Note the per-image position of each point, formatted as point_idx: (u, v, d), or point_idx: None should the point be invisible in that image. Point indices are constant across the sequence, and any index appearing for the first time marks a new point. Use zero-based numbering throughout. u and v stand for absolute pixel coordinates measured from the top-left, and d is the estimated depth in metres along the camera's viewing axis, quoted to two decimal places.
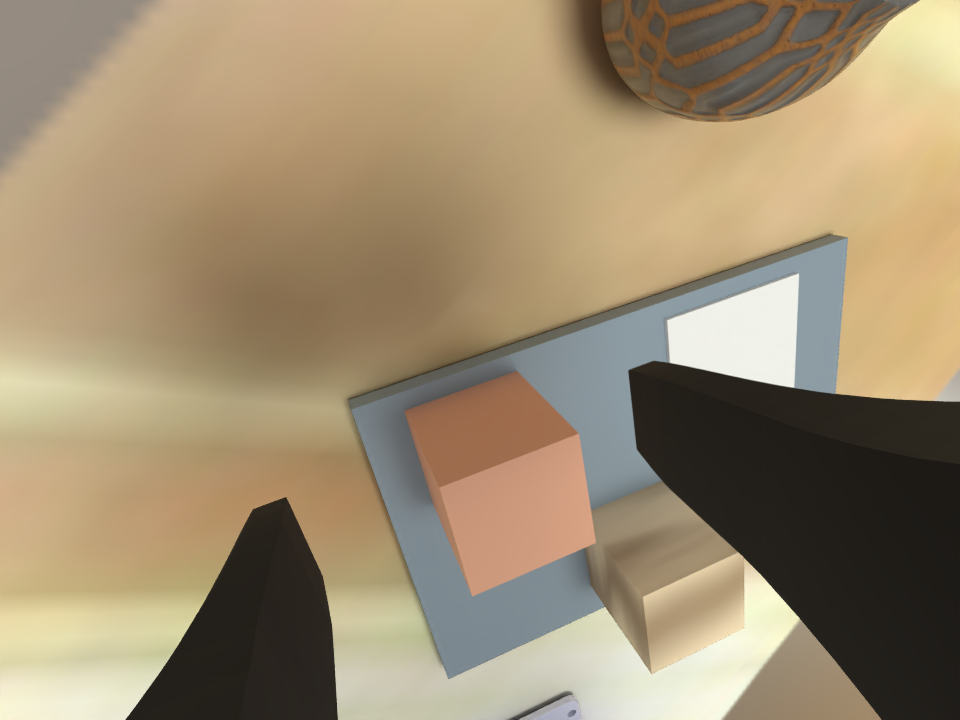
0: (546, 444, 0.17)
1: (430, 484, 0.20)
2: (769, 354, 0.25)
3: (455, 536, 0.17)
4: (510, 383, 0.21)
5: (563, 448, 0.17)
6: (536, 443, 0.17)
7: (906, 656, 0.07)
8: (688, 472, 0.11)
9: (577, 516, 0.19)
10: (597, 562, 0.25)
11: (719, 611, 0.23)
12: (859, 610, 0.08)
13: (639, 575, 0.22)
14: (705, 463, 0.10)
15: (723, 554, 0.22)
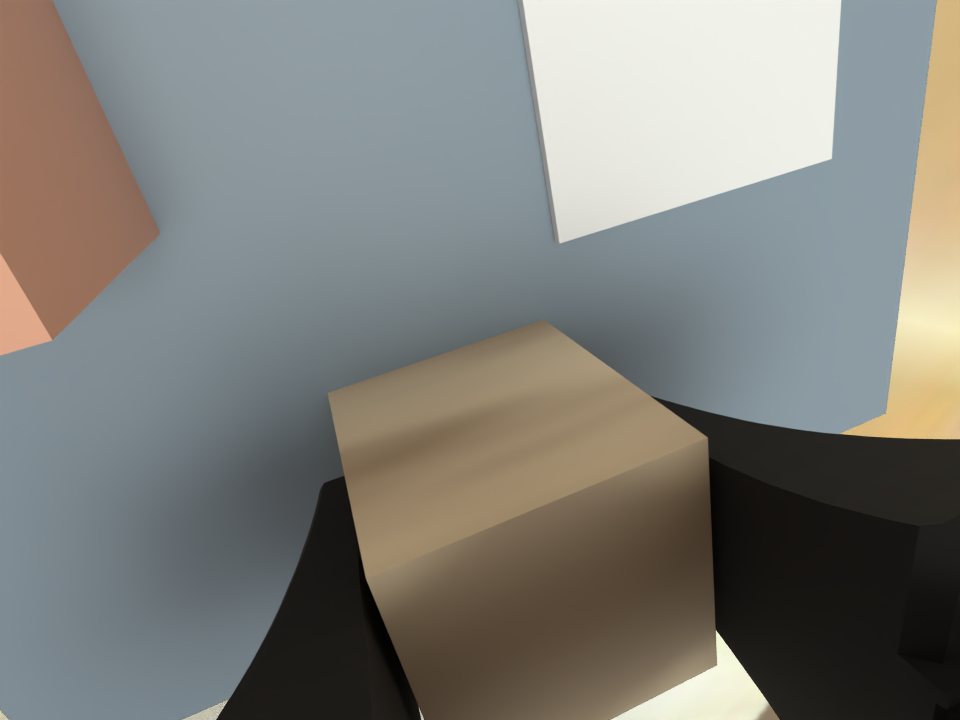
0: None
1: None
2: (779, 4, 0.11)
3: None
4: None
5: None
6: None
7: (825, 701, 0.07)
8: None
9: None
10: None
11: (643, 624, 0.08)
12: (782, 650, 0.08)
13: (388, 515, 0.07)
14: None
15: (645, 451, 0.07)
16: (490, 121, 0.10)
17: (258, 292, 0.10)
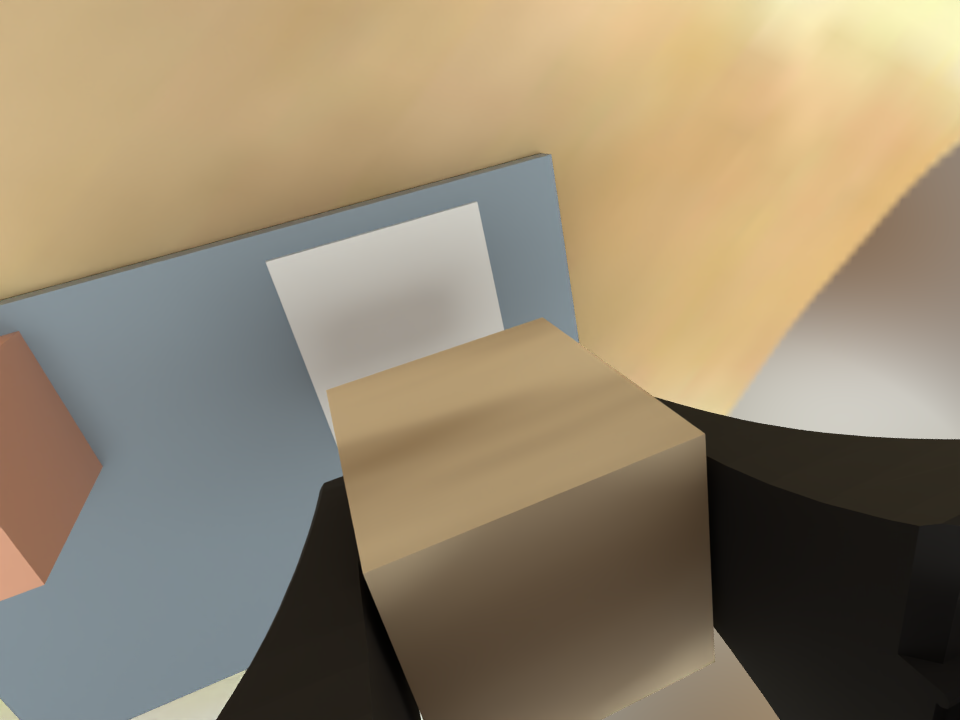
0: None
1: None
2: (457, 316, 0.19)
3: None
4: None
5: None
6: None
7: (825, 701, 0.07)
8: None
9: None
10: None
11: (641, 621, 0.08)
12: (782, 650, 0.08)
13: (386, 510, 0.07)
14: None
15: (643, 448, 0.07)
16: (286, 392, 0.18)
17: (158, 488, 0.18)
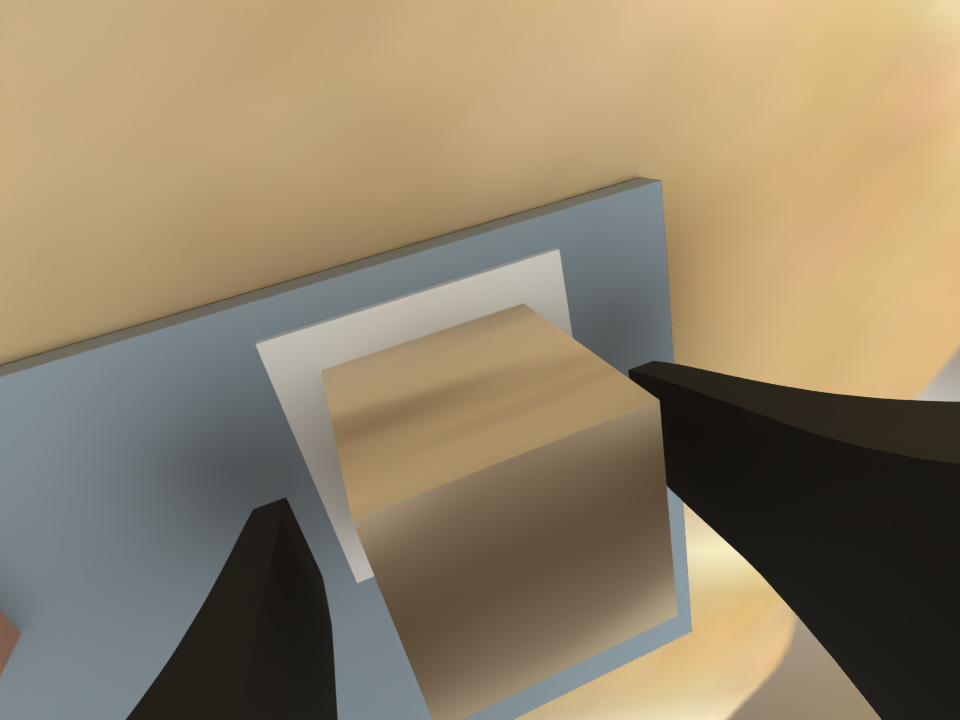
0: None
1: None
2: None
3: None
4: None
5: None
6: None
7: (906, 656, 0.07)
8: (688, 472, 0.11)
9: None
10: None
11: (606, 573, 0.09)
12: (859, 610, 0.08)
13: (373, 469, 0.08)
14: (705, 463, 0.10)
15: (603, 412, 0.08)
16: None
17: (105, 654, 0.13)
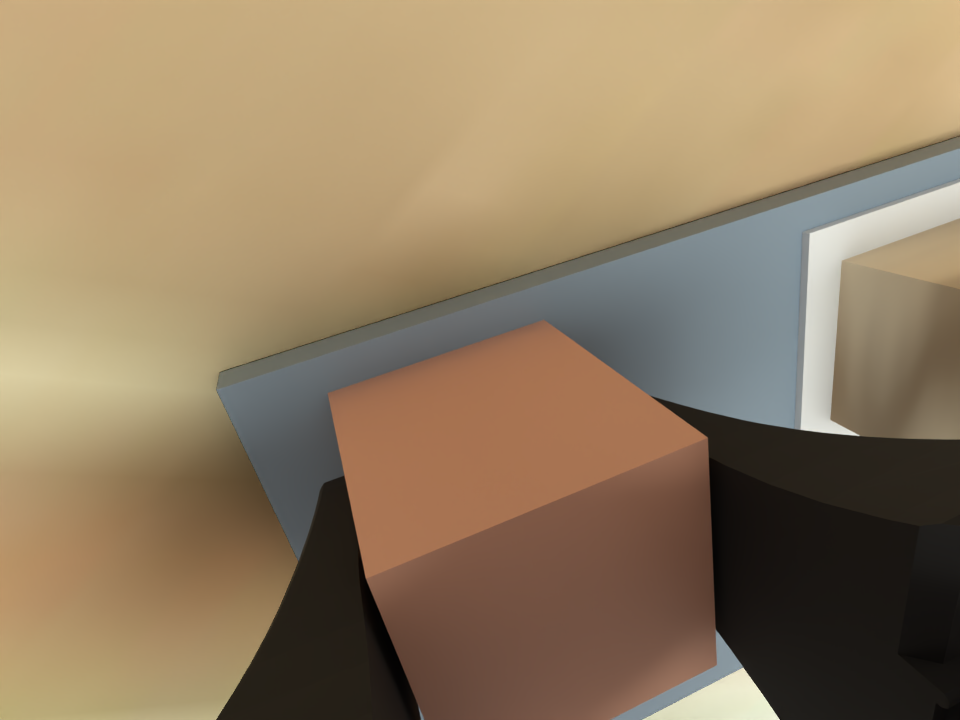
0: (632, 464, 0.07)
1: None
2: None
3: (413, 685, 0.07)
4: (533, 340, 0.11)
5: (670, 473, 0.07)
6: (605, 460, 0.07)
7: (825, 701, 0.07)
8: None
9: (686, 618, 0.09)
10: (883, 344, 0.13)
11: None
12: (782, 650, 0.08)
13: None
14: None
15: None
16: (769, 397, 0.15)
17: None
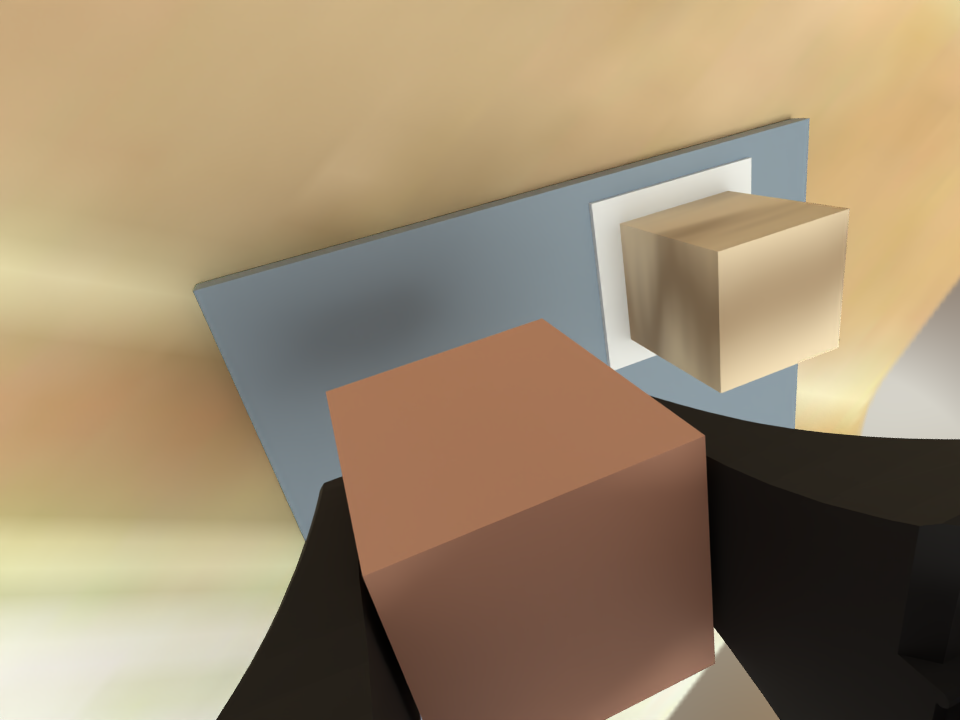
0: (629, 462, 0.07)
1: None
2: None
3: (410, 683, 0.07)
4: (531, 339, 0.11)
5: (668, 471, 0.07)
6: (602, 459, 0.07)
7: (825, 701, 0.07)
8: None
9: (684, 616, 0.09)
10: (643, 279, 0.20)
11: (810, 310, 0.17)
12: (782, 650, 0.08)
13: (709, 241, 0.16)
14: None
15: (822, 214, 0.16)
16: (581, 320, 0.21)
17: None
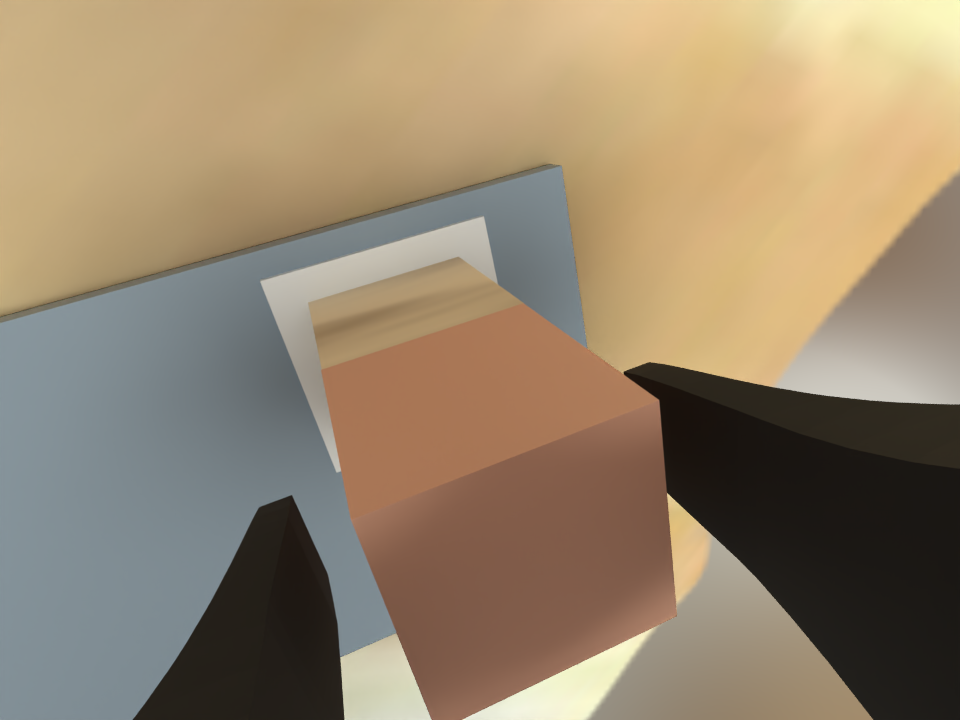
0: (590, 423, 0.08)
1: None
2: None
3: (395, 621, 0.08)
4: (512, 321, 0.12)
5: (625, 432, 0.08)
6: (567, 421, 0.08)
7: (900, 660, 0.07)
8: (683, 474, 0.11)
9: (646, 569, 0.09)
10: None
11: None
12: (853, 613, 0.08)
13: (338, 348, 0.12)
14: (700, 465, 0.10)
15: (487, 311, 0.12)
16: (283, 416, 0.17)
17: (148, 517, 0.17)
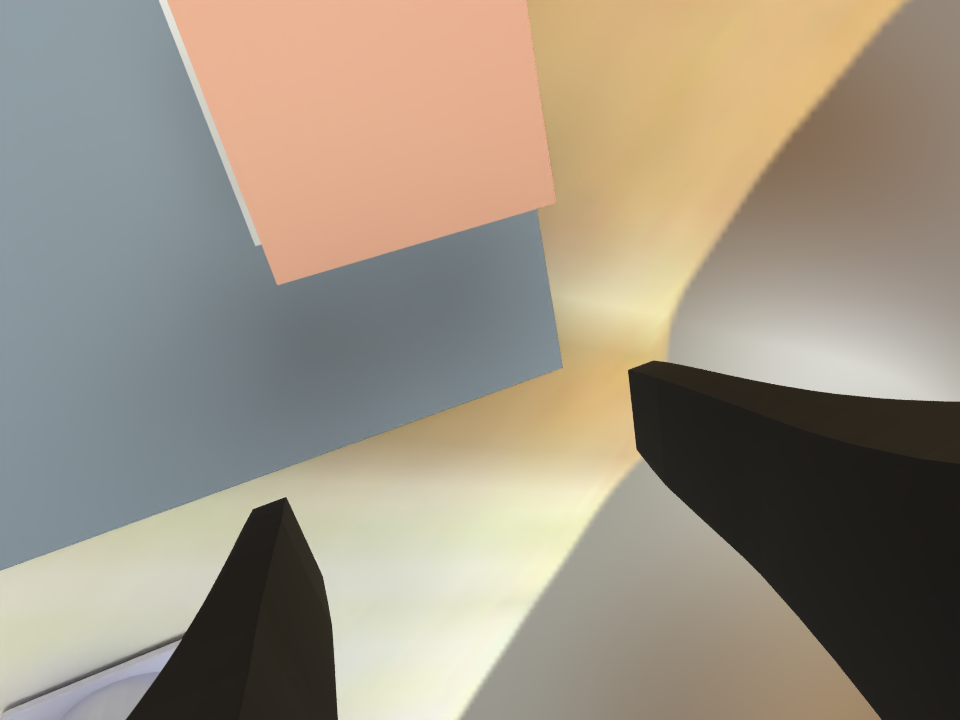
0: None
1: None
2: None
3: (206, 92, 0.07)
4: None
5: None
6: None
7: (906, 655, 0.07)
8: (688, 472, 0.11)
9: (511, 116, 0.08)
10: None
11: None
12: (859, 610, 0.08)
13: None
14: (705, 463, 0.10)
15: None
16: (193, 172, 0.16)
17: (50, 275, 0.16)
